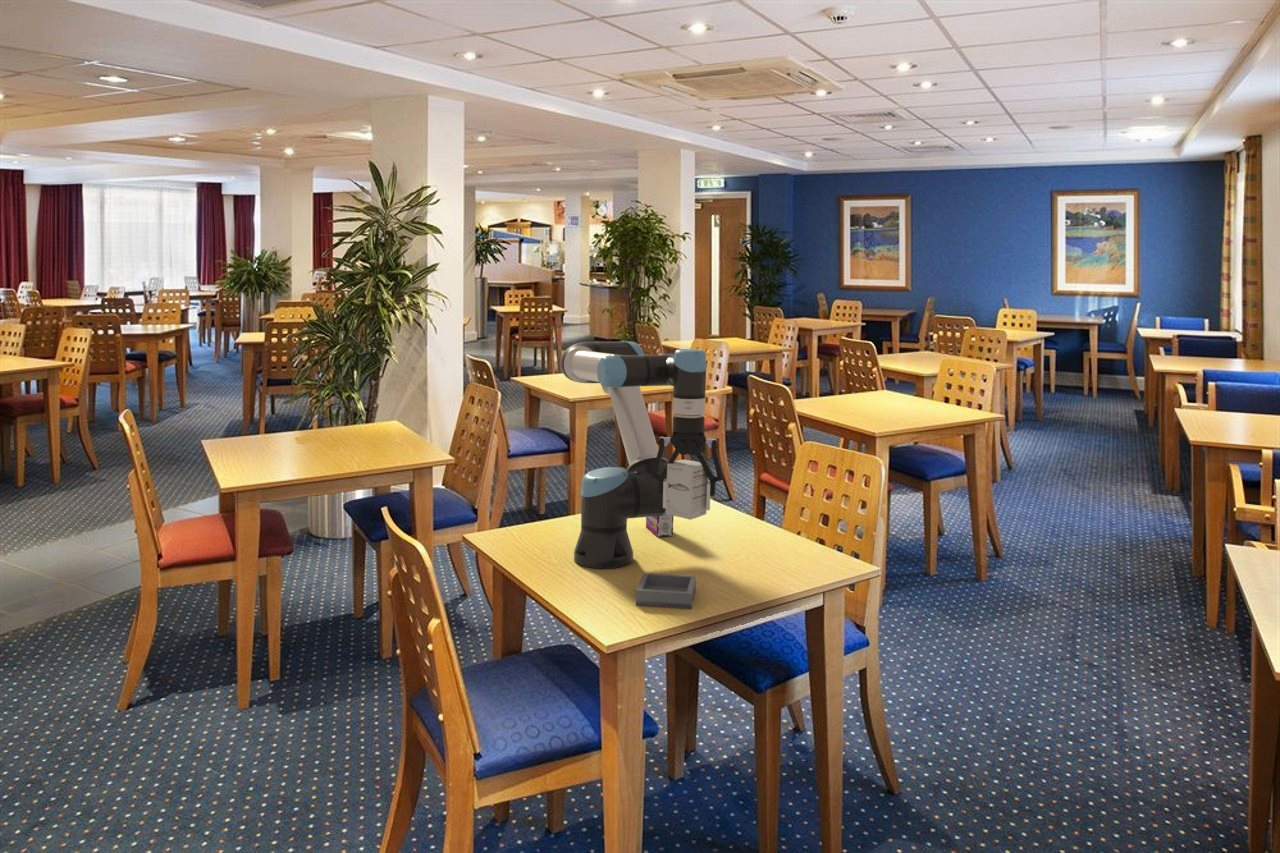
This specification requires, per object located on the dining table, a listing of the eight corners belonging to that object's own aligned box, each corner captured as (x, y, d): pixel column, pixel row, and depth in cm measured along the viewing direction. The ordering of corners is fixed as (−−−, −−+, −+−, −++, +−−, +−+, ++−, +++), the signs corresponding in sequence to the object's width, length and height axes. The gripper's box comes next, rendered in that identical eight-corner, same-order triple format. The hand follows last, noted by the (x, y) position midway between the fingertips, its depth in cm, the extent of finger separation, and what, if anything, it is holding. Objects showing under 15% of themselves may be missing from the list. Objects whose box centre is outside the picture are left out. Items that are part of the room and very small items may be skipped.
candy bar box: (674, 536, 263) (675, 479, 260) (657, 537, 262) (658, 480, 259) (661, 526, 274) (662, 471, 271) (645, 527, 272) (646, 471, 270)
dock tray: (635, 605, 209) (635, 590, 208) (643, 587, 221) (643, 572, 220) (691, 609, 207) (691, 593, 206) (695, 590, 219) (696, 575, 219)
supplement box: (664, 515, 224) (665, 463, 222) (682, 509, 230) (683, 458, 227) (690, 520, 219) (691, 467, 217) (707, 514, 225) (709, 462, 223)
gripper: (639, 416, 218) (638, 509, 222) (736, 419, 216) (732, 514, 219) (643, 411, 226) (641, 502, 229) (736, 414, 223) (733, 506, 227)
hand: (686, 508), depth 224 cm, fingers closed on supplement box, 10 cm apart
